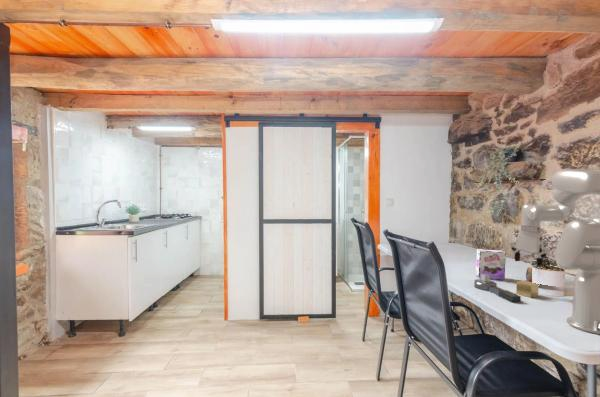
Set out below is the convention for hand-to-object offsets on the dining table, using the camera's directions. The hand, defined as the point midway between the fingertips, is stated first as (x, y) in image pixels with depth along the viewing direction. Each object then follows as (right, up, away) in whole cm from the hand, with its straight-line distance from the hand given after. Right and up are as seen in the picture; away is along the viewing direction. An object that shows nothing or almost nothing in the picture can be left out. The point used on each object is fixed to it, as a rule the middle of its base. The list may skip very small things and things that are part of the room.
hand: (528, 263), depth 149 cm
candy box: (-1, -15, +28) cm, 32 cm away
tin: (+17, -16, +18) cm, 29 cm away
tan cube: (0, -16, 0) cm, 16 cm away
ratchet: (-15, -15, +2) cm, 21 cm away
